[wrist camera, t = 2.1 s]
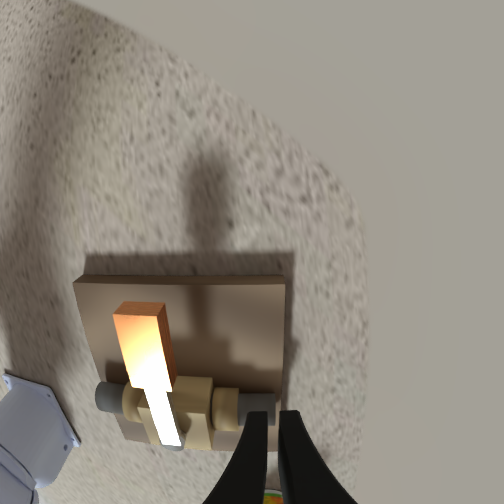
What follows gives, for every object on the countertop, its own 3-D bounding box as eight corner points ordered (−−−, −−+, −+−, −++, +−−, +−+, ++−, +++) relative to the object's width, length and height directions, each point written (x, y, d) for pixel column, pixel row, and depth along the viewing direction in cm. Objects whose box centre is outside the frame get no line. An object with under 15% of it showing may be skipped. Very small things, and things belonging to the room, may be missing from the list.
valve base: (277, 439, 24) (279, 483, 19) (129, 428, 24) (113, 467, 19) (283, 274, 19) (290, 313, 14) (83, 274, 20) (43, 305, 15)
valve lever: (193, 441, 17) (189, 457, 16) (161, 438, 17) (156, 453, 16) (165, 302, 14) (156, 316, 13) (123, 301, 14) (112, 314, 13)
